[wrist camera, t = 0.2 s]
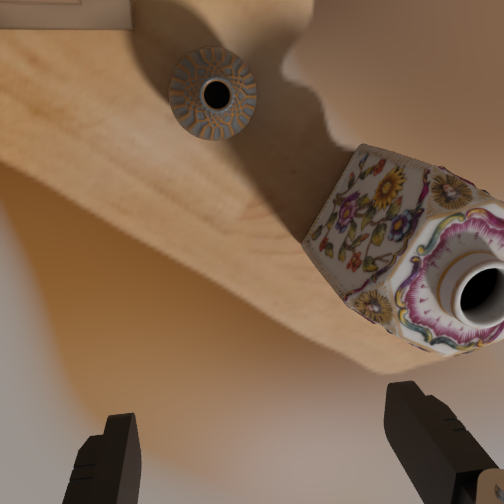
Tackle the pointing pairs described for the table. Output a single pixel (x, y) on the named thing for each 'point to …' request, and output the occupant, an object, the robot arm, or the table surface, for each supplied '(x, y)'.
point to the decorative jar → (414, 251)
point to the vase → (212, 93)
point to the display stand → (66, 14)
